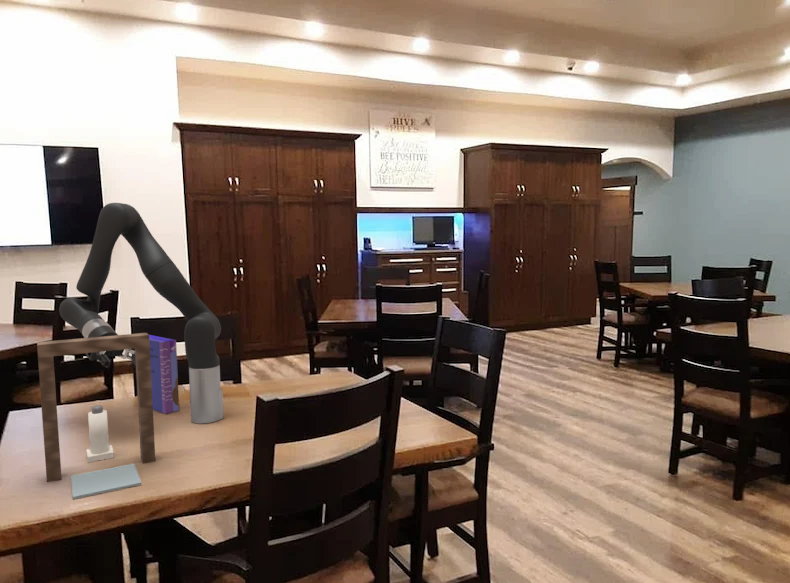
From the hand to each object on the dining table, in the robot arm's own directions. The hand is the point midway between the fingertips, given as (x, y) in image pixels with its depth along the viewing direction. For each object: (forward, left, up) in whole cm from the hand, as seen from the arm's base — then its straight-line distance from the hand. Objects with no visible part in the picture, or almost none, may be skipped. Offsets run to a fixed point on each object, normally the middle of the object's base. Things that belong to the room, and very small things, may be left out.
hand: (124, 364), depth 157 cm
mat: (+8, +24, -22) cm, 34 cm away
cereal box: (-12, -31, -23) cm, 40 cm away
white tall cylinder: (+8, +6, -23) cm, 25 cm away
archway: (+8, +15, -22) cm, 28 cm away
